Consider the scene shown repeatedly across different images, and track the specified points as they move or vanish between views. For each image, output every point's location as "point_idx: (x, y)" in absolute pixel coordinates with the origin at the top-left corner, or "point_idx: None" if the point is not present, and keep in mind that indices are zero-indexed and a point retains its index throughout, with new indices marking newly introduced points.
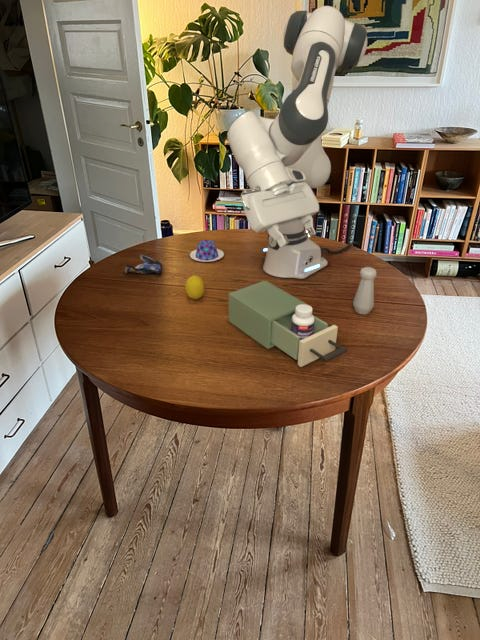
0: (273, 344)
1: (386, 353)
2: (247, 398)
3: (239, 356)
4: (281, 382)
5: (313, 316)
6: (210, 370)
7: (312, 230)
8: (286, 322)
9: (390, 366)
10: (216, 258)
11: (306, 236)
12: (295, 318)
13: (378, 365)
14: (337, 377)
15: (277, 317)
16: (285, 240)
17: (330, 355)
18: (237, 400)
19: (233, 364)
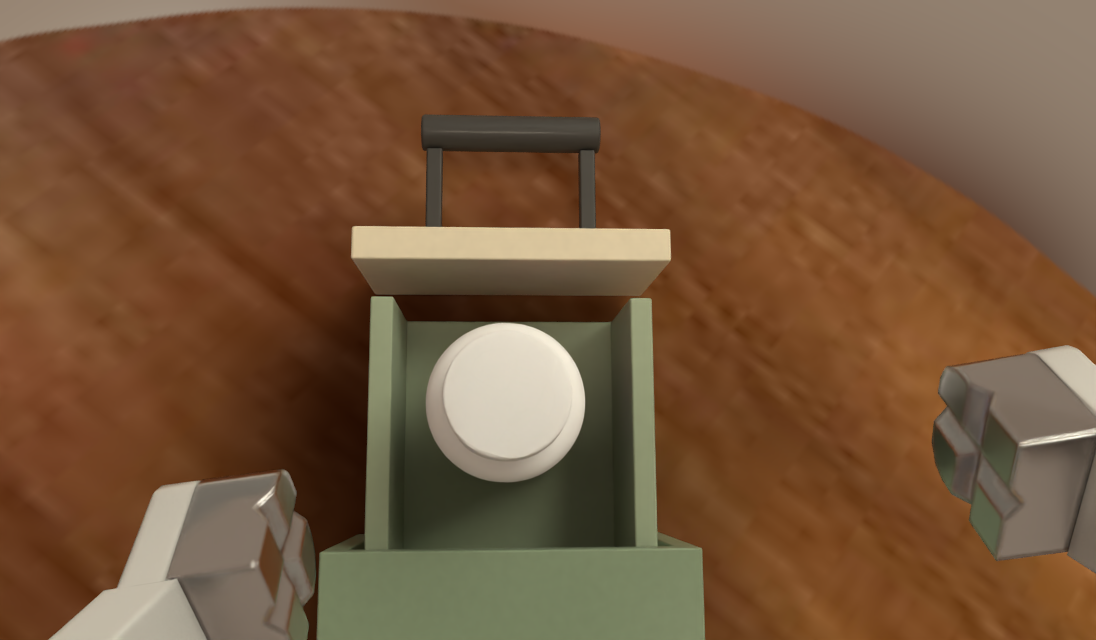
0: None
1: (154, 99)
2: (982, 272)
3: (829, 574)
4: (778, 263)
5: (440, 362)
6: (1026, 564)
7: (204, 519)
8: None
9: (239, 19)
10: None
11: (314, 577)
12: (573, 410)
13: (280, 61)
14: None
15: (620, 547)
16: (1057, 370)
17: (554, 122)
18: (1028, 289)
19: (897, 533)
